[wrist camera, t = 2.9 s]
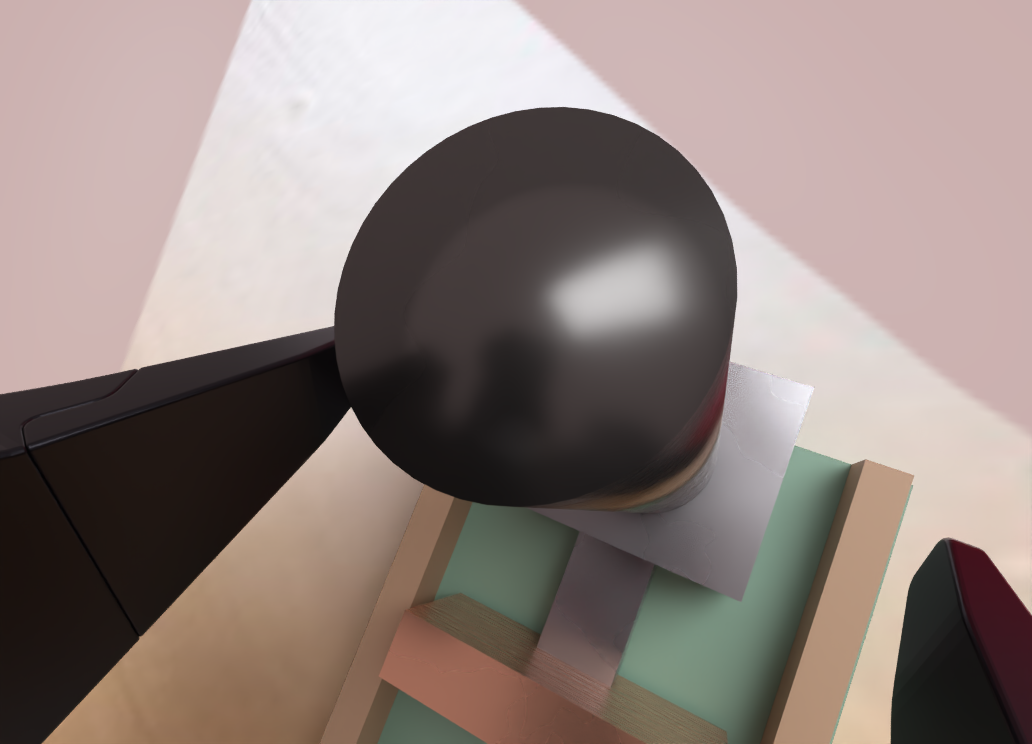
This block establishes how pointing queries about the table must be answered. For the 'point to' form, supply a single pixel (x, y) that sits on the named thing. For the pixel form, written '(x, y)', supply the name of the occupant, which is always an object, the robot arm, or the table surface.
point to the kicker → (563, 404)
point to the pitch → (661, 608)
